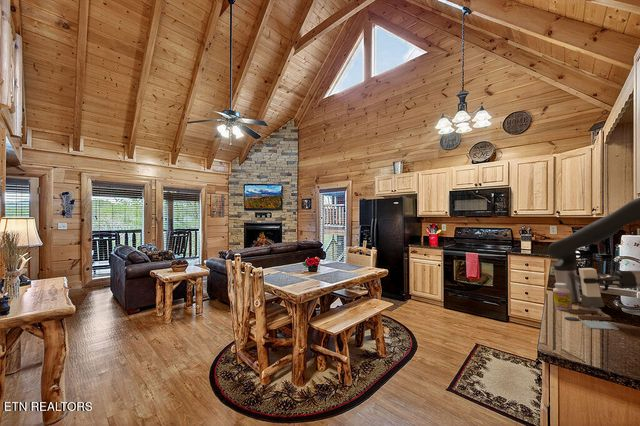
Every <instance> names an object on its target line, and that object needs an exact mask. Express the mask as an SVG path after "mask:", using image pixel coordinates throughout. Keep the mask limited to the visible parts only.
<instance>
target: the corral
mask: <svg viewBox="0 0 640 426" xmlns="http://www.w3.org/2000/svg"><path fill="white" fill-rule="evenodd" d="M568 311H569V313H570V314H572V313H573V314H574V313H575V314H577V318H578V319H579V320H591V321H592V320H593V321H597V320H598V321H612V317H611V316H610V315H608V314H606V313H605V312H603V311H602V310H601V311H599V310H584V309H578V308H572V309H569V310H568ZM592 313H597V315H592ZM585 314H586V315H585ZM587 314H589V315H587ZM600 315H601V316H600Z"/></svg>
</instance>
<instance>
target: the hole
mask: <svg viewBox="0 0 640 426" xmlns="http://www.w3.org/2000/svg"><path fill="white" fill-rule="evenodd" d="M564 320H566V321H570V322H572V321H573V322H579V321H580V319H579V318H578V317H574V316H565V317H564Z"/></svg>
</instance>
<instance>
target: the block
mask: <svg viewBox="0 0 640 426" xmlns="http://www.w3.org/2000/svg"><path fill="white" fill-rule="evenodd" d="M597 272H598V271H597V269H595V268H593V267H581V268H580V267H579V268H578V273H579V274H578V275H580V279H581V286H582V289H581V293H582V292H583V295H585V296H587V297H602V295H601V287H600V288H599V284H596V283H595V284H586V283H584V281H583V279H584V278H598V277H597V275H598V273H597Z"/></svg>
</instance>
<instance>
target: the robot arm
mask: <svg viewBox="0 0 640 426" xmlns="http://www.w3.org/2000/svg"><path fill="white" fill-rule="evenodd" d="M637 221H640V197H637V198H634V199H632V200H630V201H629V202H627V203H626V204H624V205H623V206H621V207H619V208H618V209H617V210H615V211H613V212H612V213H609V214H608V215H605V216H604V217H601V218H599V219H597V220H594V221H593V222H591V223H589V224H587V225H585V226H584V227H582V228H580V229H578V230H576V231H575V232H573V233H572V234H570V235H568V236H566V237H564V238H561V239H559V240H557V241H554V242H552V243H550V244H549V246H547V253H548V255H549V256H550V257H552V258H555V259H557V261H556V263H554V265H553V270H554V275H555V277H554V278H555V283H565V284H566V285H567V287H566V288H567V289H569V290H570V295H571V302H572V303H581V293H580V286H579V283H578V282H577V281H576V280H575V279H574V278H573V277H574V276H577V269H576V268H577V265H578V261H577V252H576V250H577V249H580V248H584V247H586V246H590V245H593V244H597V243H599V242H602V241H604V240H607V239H608V238H611V237H612V236H614V235H615V234H617V233H618V232H619V231H620V230H621V229H622V228H624V227H625V226H628V225H629V224H630V225H631V224H632V223H635V222H637ZM597 277H598V278H584V279H583V281H584V283H586V284H595V283H596V284H600V286H605V285H609V286H616V287H617V288H618V289H626V290H627V289H631V290H634V289H640V270H616V271H614V272H613V275H610V274H601V273H600V274H597ZM578 280H579V281H581V279H580V276H579V277H578Z"/></svg>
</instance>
